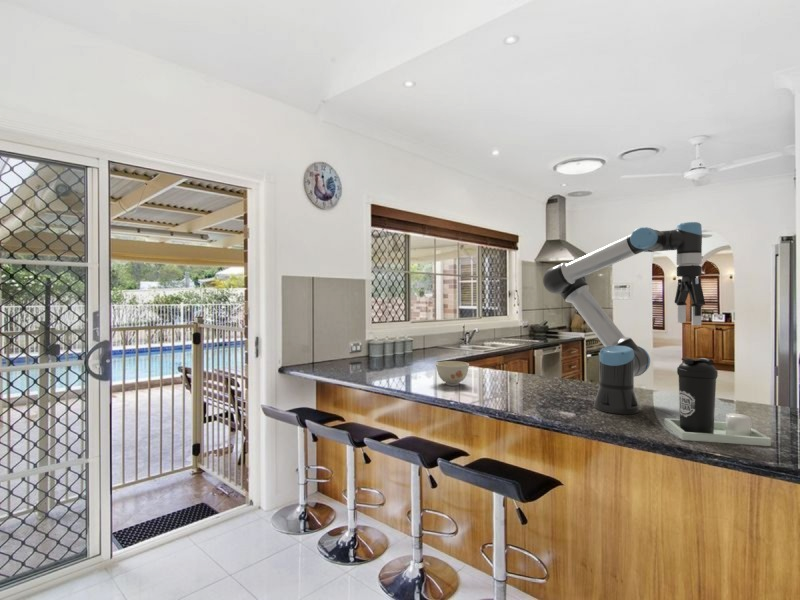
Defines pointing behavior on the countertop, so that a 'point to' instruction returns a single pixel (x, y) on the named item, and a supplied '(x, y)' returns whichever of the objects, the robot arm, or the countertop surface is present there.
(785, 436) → the countertop surface
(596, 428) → the countertop surface
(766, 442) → the tray
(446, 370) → the bowl
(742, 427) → the white domed cylinder
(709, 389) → the water bottle
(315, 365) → the countertop surface
